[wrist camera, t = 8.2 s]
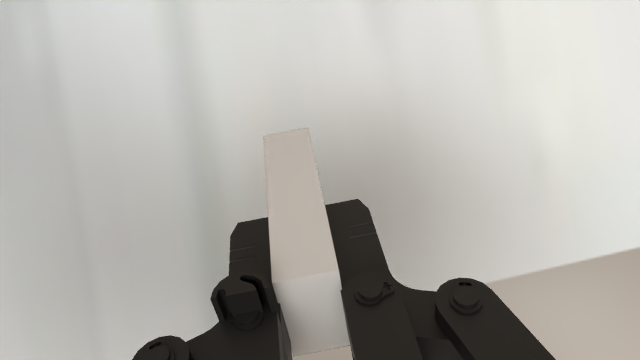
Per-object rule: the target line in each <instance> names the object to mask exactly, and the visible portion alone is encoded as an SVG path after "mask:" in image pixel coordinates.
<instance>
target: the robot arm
mask: <svg viewBox="0 0 640 360" xmlns="http://www.w3.org/2000/svg"><path fill="white" fill-rule="evenodd" d="M264 152H265V169H266V187H267V204H268V217H267V218H261V219H256V220H251V221H245V222H240V223H238V224H237V226H236V227H235V229H234V231H233V233H232V234H231V236H230V263H229V276H228V277H226V278H225V279H223V280H222V281H220V282H219V283H218V285H217V286H216V287H215V288H214V290H213V292H212V296H211V301H212V304H213V306H214V309H215V311H216V314H217V316H218V319H219V322H218V323H217V324H216V325H215V326H214V327H213V328H212V329H210V330H208V331H207V332H205V333H203V334H201V335H199V336H197V337H195V338H193V339H191V340H189V341H187V342H185V341H184V340H182V339H181V338H180V337H175V336H164V337H159V338H156V339H154V340H152V341H150V342H148V343H147V344H146V345H144V346H143V347H142V348H141V349H140V350H138V352H137V353H136V355H135V356H134V358H133V359H132V360H292V354H293V356H299V355H304V354H309V353H314V352H319V351H325V350H330V349H335V348H340V347H345V346H351V351H352V357H353V360H555V358H554V357H553V356H552V355H551V354H550V353H549V352H548V351H547V350H546V349H545V348H544V346H543V345H542V344H541V343H540V342H539V341H538V340H537V339H536V338H535V337H534V336H533V334H532V333H531V332H530V331H529V330H528V329H527V328H526V327H525V326H524V325H523V324H522V322H521V321H520V320H519V319H518V318H517V317H516V316H515V315H514V314H513V313H512V311H510V309H509V308H508V307H507V306H506V305H505V304H504V303H503V302H502V301H501V299H500V298H499V297H498V296H497V295H496V294H495V293H494V292H493V291H492V290H491V289H490V288H489V287H487V286H486V285H485V284H484V283H482V282H479V281H477V280H474V279H470V278H457V279H452V280H449V281H447V282H445V283H444V284H442V285H441V286H440V287H439V289H438V290H437V292H435V291H422V290H415V289H411V288H408V287H406V286H403V285H402V284H400V283H399V282H397V281H396V280H395V279H394V278H393V277H392V275H391V273H390V271H389V269H388V266H387V263H386V260H385V257H384V254H383V251H382V248H381V245H380V241H379V238H378V235H377V233H376V229H375V226H374V224H373V220H372V217H371V214H370V211H369V209H368V208H367V207H366V206H365V205H364V204H363V203H362V202H361V201H360V200H358V199H356V200H350V201H345V202H340V203H334V204H329V205H325V203H324V199H323V194H322V190H321V185H320V180H319V176H318V171H317V166H316V162H315V157H314V152H313V148H312V143H311V138H310V134H309V129H308V128H304V129H298V130H293V131H288V132H282V133H277V134H272V135H266V136H264ZM291 350H292V351H291Z"/></svg>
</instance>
